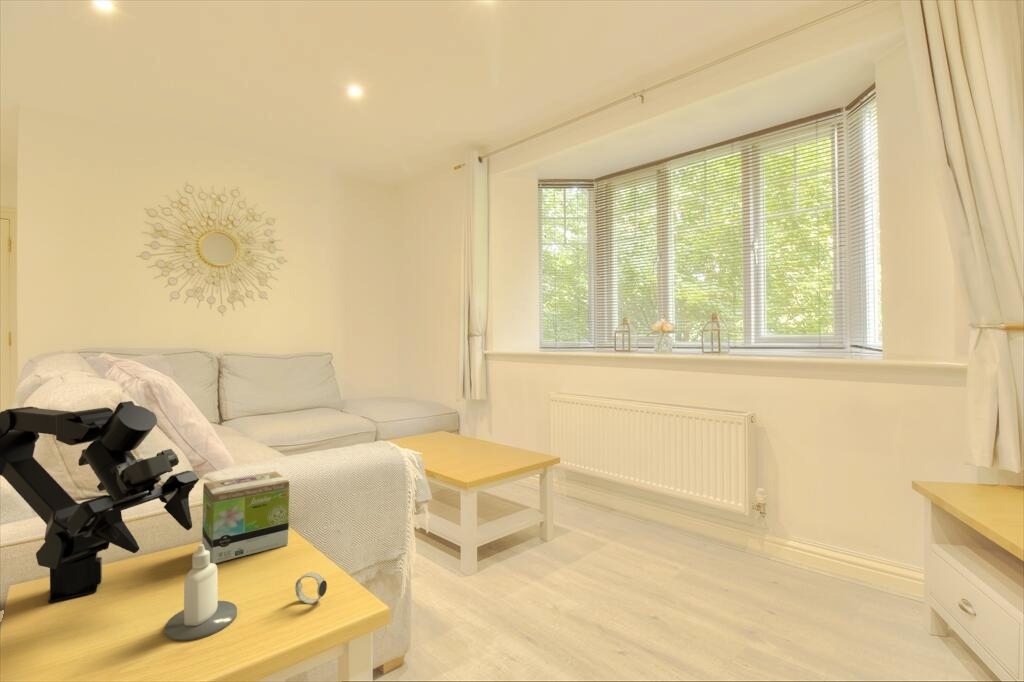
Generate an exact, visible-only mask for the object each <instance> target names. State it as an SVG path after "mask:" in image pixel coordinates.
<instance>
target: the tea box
mask: <svg viewBox="0 0 1024 682" xmlns="http://www.w3.org/2000/svg"><path fill="white" fill-rule="evenodd" d="M202 490H203V491H202V529H201V530H202V535H201V540H202V542H201V544H204V548H205V550H208V551H210V563H214V564H216V565H217V564H219V563H222V562H225V561H229V560H233V559H236V558H240V557H244V556H247V555H248V556H249V555H253V554H256V553H260V552H265V551H268V550H274V549H277V548H282V547H286V546H287V545H289V531H290V530H289V529H290V480H288V479H286V478H285V476H282V475H281V474H280V473H278V472H277V471H269V472H266V473H265V472H264V473H258V474H253V475H245V476H240V477H233V478H228V479H222V480H221V479H220V480H215V481H210V482H209V481H208V482H204V483H203V489H202Z"/></svg>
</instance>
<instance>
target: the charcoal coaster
mask: <svg viewBox="0 0 1024 682" xmlns="http://www.w3.org/2000/svg"><path fill="white" fill-rule="evenodd" d="M237 616H238V607H237V605H236V604H234V602H230V601H226V600H218V607H217V610H216V612H215V613H214V615H213V616H212V617H211V618H209V619H208V620H207V621H205V622H203V623H202V624H200V625H197V626H186V625H185V624H184V609H182V610H180V611H178V612H177V613H175V614H174V615H173V616H172V617H170V618H169V619H168V620H167V622H166V624H165V626H164V634H165V637H167V638H168V639H170V640H172V641H180V642H183V641H184V642H186V641H187V642H188V641H195V640H200V639H202V638H205V637H209V636H211V635H214V634H216V633H218V632H220V631H222V630H224V629H226V628H227V627H228V626H230V625H231V624H232V623H233V622H234V621H235V619H236V618H237Z"/></svg>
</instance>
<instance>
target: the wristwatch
mask: <svg viewBox="0 0 1024 682" xmlns="http://www.w3.org/2000/svg"><path fill="white" fill-rule="evenodd" d="M304 578H313V579H314V580H315V581H317V582H316V584H317V589H316V590H317V591H316V592H317V593H316V594H317V596H318V597H317V598H310V597H309V596H307V595H305V594H304V592H303V590H302V589H303V583H302V579H304ZM294 588H295V595H296V598H298V600H299V601H301V602H303V603H305V604H307V605H313V604H316V603H317V602H319V600H320V599H321V598H323V597H324V595H325V594H326V593H327V592H326V591H327V589H328V583H327V581H326V580H325V578H324V577H323V576H322V575H321V574H320V573H318V572H313V571H311V572H307V573H305V574H303V575H302V576H301V577H300V578H298V579H297V580H296V582H295V585H294Z"/></svg>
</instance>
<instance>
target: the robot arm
mask: <svg viewBox="0 0 1024 682" xmlns="http://www.w3.org/2000/svg"><path fill="white" fill-rule="evenodd" d="M157 424H158V418H157V416H156V414H155V412H153V411H151V410H149V409H148V408H146V407H143V406H141V405H137V404H135V403H134V402H133V401H132V400H129V401H122V402H119V403H118V404H117V406H116V407H115V409H114V410H113V409H111V408H110V407H97V408H91V409H85V410H84V409H83V410H78V411H69V410H57V409H49V408H39V407H37V406H36V407H35V406H24V407H15V408H9V409H7V408H6V409H5V410H2V411H0V476H2V477H3V478H4V479H5V480H6V481H7V482H8V484H10V486H11V487H12V488H13V490H15V491H16V492H17V494H19V496H20V497H21V498H22V499H23V500H24V502H26V503H27V505H28V506H30V508H31V509H32V510H33V511H34V512H35V513H36V514H37V516H39V518H40V519H41V520H42V521H43V522H44V523H45V525H46V526H45V532H44V534H45V535H44V539H43V540H44V541H45V542H44V543H43V544H42V545H41V547H40V548H39V549H38V550H37V551H36V553H35V557H36V560H37V564H38V566H39V567H45V568H49V596H48V599H47V603H48V604H50V603H55V602H60V601H64V600H68V599H72V598H76V597H81V596H84V595H90V594H93V593H94V594H95V593H96V592H97V591H98V587H99V585H101V584H102V580H103V558H102V557H101V556H98V555H99V554H98V553H99V552H101V551H104V550H105V551H106V550H108V549H109V548H110V544H112V545H115V546H117V547H119V548H122V549H124V550H126V551H128V552H130V553H132V554H136V553H137V552H138V551H139V550H140V546H139V544H138V542H137V540H136V539H135V537H134V535H133V534H132V532H131V531H130V529H129V528H128V526H127V525H126V523H125V522H124V521H123V515H122V511H125V510H127V509H128V510H129V509H130V508H133V507H136V506H139V505H142V504H145V503H148V502H151V501H153V500H157V499H159V501H160V502H161V503H164V506H163V508H164V510H166V512H167V513H168V514H169V515H170V516H171V517H172V518H173V519H174V520H175V521H176V522H177V523H178V524H179V525H180V526H181V527H182V528H184V530H186V531H190V530H191V529H192V528H193V523H192V515H191V511H190V502H189V497H190V493H191V492H192V490H193V489H194V488H195V486H196V484H197V483H199V481H200V479H199V477H198V476H197V474H196V473H195V472H194V471H193V470H185V471H181V472H179V473H175V474H171V475H170V476H169V477H168V478H167V480H165V482H164V483H163V484H162V485H159V486H156V487H155V485H156V484H159V483H160V481H161V480H162V477H161V476H162V475H165V474H167V473H172V472H173V470H174V469H173V467H174V468H175V467H176V466H178V465H179V462H180V460H179V457H178V455H177V453H176V452H175V451H174V450H173V449H172V448H169V449H165V450H161V451H160V452H157V453H156V456H152V457H148V458H145V459H144V458H139V459H137V458H136V457H135V455H134V454H133V452H132V451H134V450H136V449H137V448H138V447H140V445H142V443H143V441H144V440H145V439H146V438H147V436H149V434H150V433H151V432H152V430H153V429H154V428H155V427H156V425H157ZM40 434H43V435H45V434H46V435H53V436H55V440H56V441H58V442H60V443H62V444H66V445H68V446H77V445H80V444H81V445H82V444H86V443H87V444H88V443H90V444H89V445H88V446H87V447H86V448H84V449H82V450H81V455H80V457H79V458H78V466H79V467H81V466H82V467H83V466H86V465H89V467H90V468H91V470H92V471H93V473H94V474H95V476H96V477H97V479H98V480H99V482H98V483H99V484H98V485H97V486H96V487H97V490H98V492H102V491H105V490H106V492H107V494H108V495H107V494H105V495H102V496H98V497H95V498H91V499H88V500H85V501H82V502H81V503H78V502H76V500H74V499H73V498H72V496H71V495H70V494H69V493H68V492H67V491H66V490H65V489H64V487H63V486H62V485H61V484H59V483H58V482H57V480H56V479H55V478H54V477H53V476H52V475H51V474H50V473H49V472H48V470H46V469H45V468H44V467H43V465H41V464H40V463H39V462H38V460H37V459H36V458H35V457H34V453H35V448H36V442H37V441H38V440H39V439H40Z"/></svg>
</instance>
